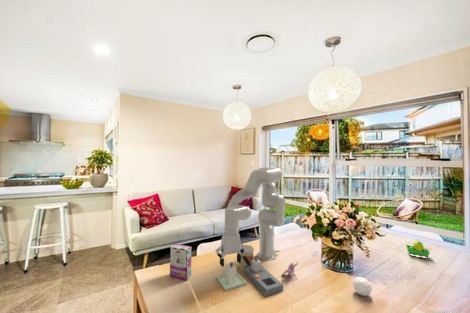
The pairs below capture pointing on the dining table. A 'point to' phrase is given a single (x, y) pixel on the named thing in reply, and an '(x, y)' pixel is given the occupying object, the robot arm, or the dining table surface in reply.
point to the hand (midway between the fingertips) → (230, 263)
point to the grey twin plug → (256, 265)
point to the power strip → (264, 281)
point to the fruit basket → (418, 249)
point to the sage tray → (227, 286)
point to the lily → (290, 269)
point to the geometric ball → (362, 286)
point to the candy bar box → (180, 261)
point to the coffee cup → (246, 257)
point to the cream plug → (231, 273)
